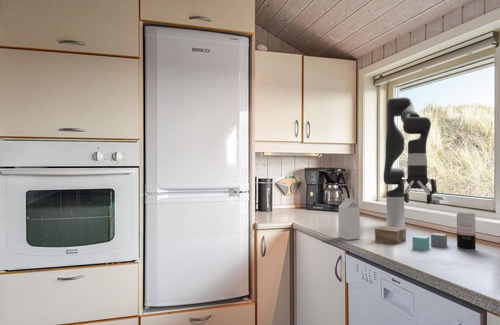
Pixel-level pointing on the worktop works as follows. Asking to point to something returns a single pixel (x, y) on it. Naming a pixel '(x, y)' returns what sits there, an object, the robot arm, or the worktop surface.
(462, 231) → the white and black canister
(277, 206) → the worktop surface
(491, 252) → the worktop surface
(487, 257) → the worktop surface
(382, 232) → the walnut base block
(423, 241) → the teal cube
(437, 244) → the gray cube
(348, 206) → the milk carton
